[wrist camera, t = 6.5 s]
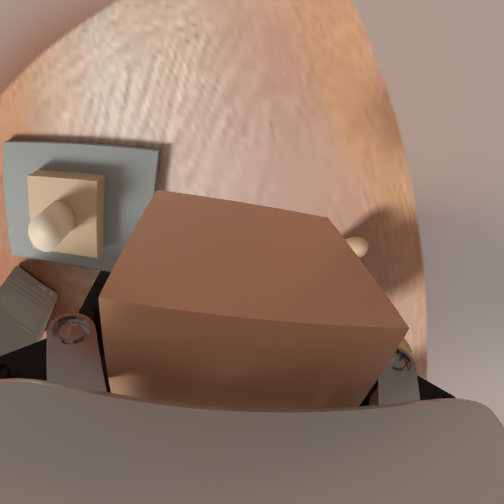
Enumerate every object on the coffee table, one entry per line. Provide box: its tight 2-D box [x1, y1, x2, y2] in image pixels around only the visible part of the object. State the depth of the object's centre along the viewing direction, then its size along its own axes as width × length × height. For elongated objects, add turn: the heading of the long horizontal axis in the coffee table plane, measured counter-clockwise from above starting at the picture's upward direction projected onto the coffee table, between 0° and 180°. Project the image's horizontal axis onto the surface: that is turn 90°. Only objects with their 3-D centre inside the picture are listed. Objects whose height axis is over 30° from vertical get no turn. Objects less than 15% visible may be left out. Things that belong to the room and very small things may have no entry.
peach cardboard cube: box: [99, 190, 409, 409], centre depth 9 cm, size 6×6×6 cm
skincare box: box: [0, 266, 58, 356], centre depth 24 cm, size 8×7×16 cm
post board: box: [3, 140, 160, 271], centre depth 24 cm, size 16×12×6 cm
